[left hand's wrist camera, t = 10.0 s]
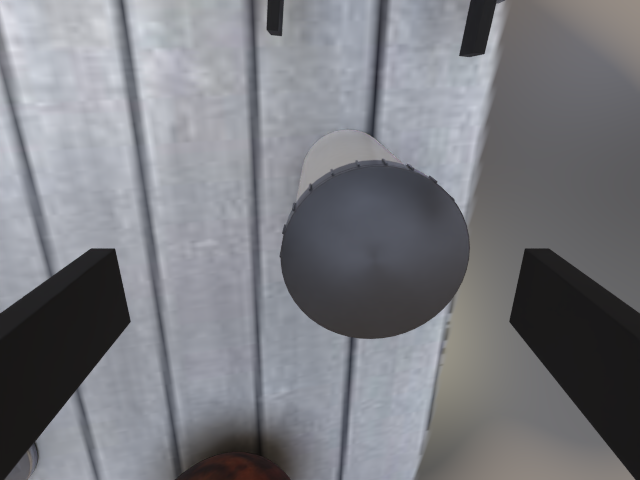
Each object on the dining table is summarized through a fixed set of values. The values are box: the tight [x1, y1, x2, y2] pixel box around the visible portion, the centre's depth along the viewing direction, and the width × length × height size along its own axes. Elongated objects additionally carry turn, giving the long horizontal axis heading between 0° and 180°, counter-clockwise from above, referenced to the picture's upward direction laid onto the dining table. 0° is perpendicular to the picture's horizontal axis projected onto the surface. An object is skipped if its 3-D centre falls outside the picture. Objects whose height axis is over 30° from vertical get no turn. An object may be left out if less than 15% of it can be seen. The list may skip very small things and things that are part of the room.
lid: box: [280, 159, 470, 339], centre depth 19 cm, size 9×9×2 cm
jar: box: [296, 129, 403, 202], centre depth 28 cm, size 8×8×19 cm
